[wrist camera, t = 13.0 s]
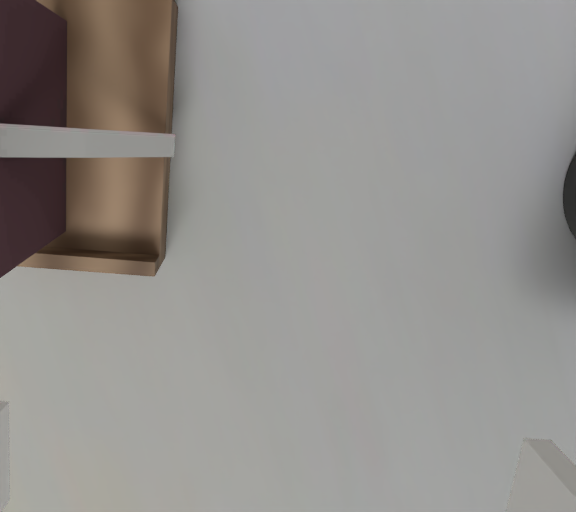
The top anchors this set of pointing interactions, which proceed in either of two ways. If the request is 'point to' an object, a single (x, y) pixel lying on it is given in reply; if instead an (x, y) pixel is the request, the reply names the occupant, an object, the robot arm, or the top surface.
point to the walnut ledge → (119, 117)
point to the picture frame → (44, 131)
